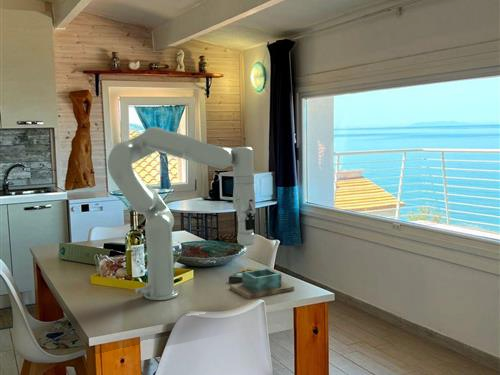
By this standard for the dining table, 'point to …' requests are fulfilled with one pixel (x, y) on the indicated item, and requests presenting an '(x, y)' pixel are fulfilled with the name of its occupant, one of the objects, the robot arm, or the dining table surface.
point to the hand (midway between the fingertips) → (245, 228)
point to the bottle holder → (261, 284)
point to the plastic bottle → (244, 235)
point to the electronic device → (239, 276)
